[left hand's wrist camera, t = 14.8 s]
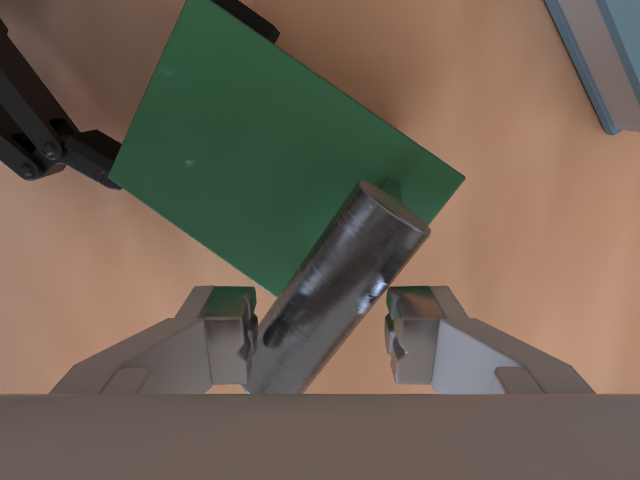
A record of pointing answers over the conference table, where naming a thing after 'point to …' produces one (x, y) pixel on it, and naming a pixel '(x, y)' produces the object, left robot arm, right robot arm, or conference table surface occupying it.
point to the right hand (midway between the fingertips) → (227, 123)
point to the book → (605, 55)
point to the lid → (280, 185)
